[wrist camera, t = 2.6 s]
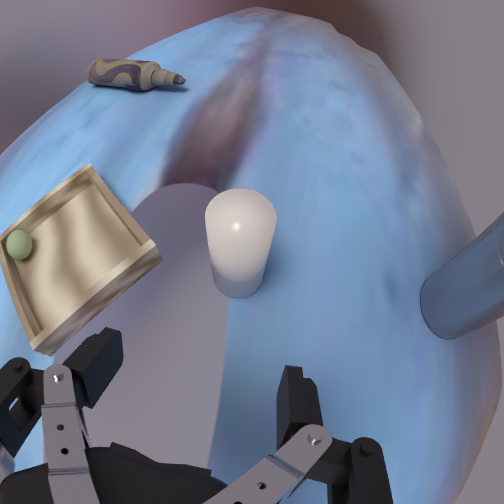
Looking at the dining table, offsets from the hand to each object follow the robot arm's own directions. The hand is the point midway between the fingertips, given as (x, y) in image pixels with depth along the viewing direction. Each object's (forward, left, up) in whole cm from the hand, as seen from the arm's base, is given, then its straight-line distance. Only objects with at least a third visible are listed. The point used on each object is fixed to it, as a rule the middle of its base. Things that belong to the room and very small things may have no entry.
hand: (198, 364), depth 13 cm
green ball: (+10, -28, -14) cm, 33 cm away
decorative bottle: (-22, -53, -15) cm, 60 cm away
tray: (+5, -23, -15) cm, 28 cm away
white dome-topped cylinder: (-9, -7, -15) cm, 19 cm away
